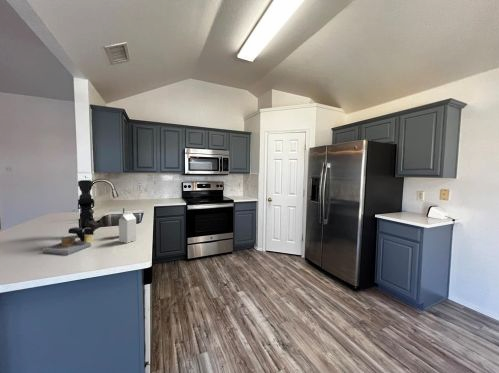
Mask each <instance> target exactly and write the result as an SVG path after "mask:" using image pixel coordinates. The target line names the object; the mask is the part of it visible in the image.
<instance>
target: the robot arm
mask: <svg viewBox="0 0 499 373" xmlns="http://www.w3.org/2000/svg"><path fill="white" fill-rule="evenodd" d="M93 182H94V181H93V180H89V179H81V180H78V181H77V187H78V188H79V190H80V192H81V194H80V195H79V196H78V197H79V198H78V199H77V210H79V218H78V226H77V227H76V226H75V227H71V228H69V229H68V234H75V235H76V236H77V237H78V238H79V241H80V240H81V241H82V242H84V235H86V234H88V235H92V236H93V235H95V233H94V232H95V231H96V230H98V229H100V228H102V226H103V220H101V219H98V220H97V219H96V220H95V219H94V217H93V214H92V209H94V207H95V200H94V198H92V197H93V196H92V195H91V194H90V192H91V191H92V188H93V187H94V183H93Z"/></svg>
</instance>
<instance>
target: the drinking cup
mask: <svg viewBox="0 0 499 373" xmlns="http://www.w3.org/2000/svg"><path fill="white" fill-rule="evenodd" d="M124 213H125V208H124V207H123V208H122V215H120V216H118V217H117V223H118V224H117V225H119V219H120V218H121V217H122V216H123V214H124Z"/></svg>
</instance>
